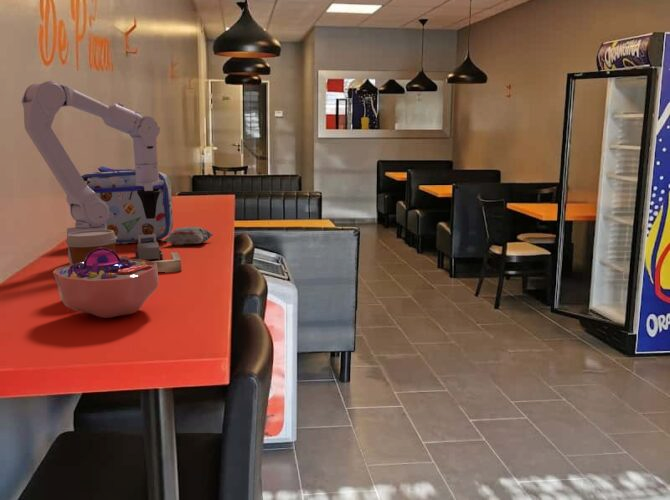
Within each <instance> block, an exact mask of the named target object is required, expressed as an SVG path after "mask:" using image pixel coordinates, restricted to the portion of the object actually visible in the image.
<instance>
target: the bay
mask: <svg viewBox="0 0 670 500" xmlns="http://www.w3.org/2000/svg"><path fill="white" fill-rule="evenodd" d="M120 258H121V259H129V258H128V256H127V255H125V256H120ZM150 261H151V260H150ZM151 262H156V263H157V268H158V272H165V273H175V272H182V269H183V268H182V259H181V257H180V255H179V253H178V251H176V252H174V251H173V252H170V259H165V260H164V259H163V260H154V261H153V260H152V261H151Z"/></svg>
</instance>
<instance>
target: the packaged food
mask: <svg viewBox="0 0 670 500" xmlns="http://www.w3.org/2000/svg"><path fill="white" fill-rule="evenodd" d="M213 235H214V234H213V233H211V231H209V230H208V229H205V228H204V227H196V226H185V227H178V228H176V229H174V230H172V231H171V233H170V234H169V235H167V236H166V237H165V238H163V239H161V242H167V243H168V244H171V245H173V246H182V245H187V246H188V245H189V246H195V245H200V244H203V243H205V242H206V241H208V240H209V239H210V238H211V237H213Z"/></svg>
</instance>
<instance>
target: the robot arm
mask: <svg viewBox="0 0 670 500" xmlns="http://www.w3.org/2000/svg"><path fill="white" fill-rule="evenodd" d="M21 104H22V106H23V121H24V125H23V126H24V130H25V131H26V133H27V135H28V136H29V138H30V140H31V141H32V143H33V144H34V146H35V147H36V149H37V150H38V153H39V154H40V156H41V157H42V158H43V160H44V161H45V163H46V165H47V167H48V168H49V169H50V171H51V173H52V174H53V175H54V177H55V179H56V180H57V182H58V183H59V185H60V187H61V189H62V190H63V191H64V193H65V195H66V198H65V200H66V202H67V204H68V206H69V213H70V216H71V218H72V219H73V220H74V221H75V225H74V226H75V227H68V228H67V229H66V236H67V235H68V234H70V233H73V232H79V231H88V230H107V225H106V221H107V219H108V218H109V214H110V211H109V207H108V205H107V204H106V203H105V202H104V201H102V200H101V199H99V198H98V196H97V195H96V193H95V192H94V191H93V190H91V189H90V188H89V187H88V186H87V185H86V183H85V182H84V180H83V178H82V177H81V176H82V175H81V174H80V172H79V170H78V169H77V167H76V165H75V164H74V162H73V161H72V159H71V157H70V155H69V154H68V153H67V151H66V150H65V148H64V146H63V144H62V143H61V141H60V140H59V138H58V137H57V135H56V133H55V131H54V129H52V126H53V122H54V120H55V117H56V115H57V114H58V112H59V111H60V109H61V108H62V107H72V108H75V109H77V110H80V111H83V112H84V113H85V112H86V113H88V114H90V115H91V114H92V115H94V116H97V117H99V118H101V119H102V121H103V123H104V125H105V126H107V127H110V128H113V129H116V130H117V131H120V132H123V133H125V134H128V135H129V137H131V138H132V143H133V144H132V145H133V158H134V168H135V169H134V170H135V172H136V182H135V183H136V185H138V186H143V187H144V189H138V190H137V194H138V195H139V197H140V199H141V201H142V204H143V208H144V212H145V216H146V219H154V218H155V215H156V205H157V200H158V196H159V194H160V191H159V188H153V187H154V185H158V184H163V183H164V181H159V172H160V171H159V164H158V163H159V160H158V146H157V144H158V143H157V138H158V136H159V134H160V132H161V127H160V126H159V125H158V123H157V121H156V120H155V118H153V117H152V116H148V115H147V116H142V113H141V112H140V111H133V110H131V109H129V108H126V107H125V104H124V103H121V102H117V103H115V102H113V103H110V104H108V105H107V104H106V103H103V102H102V101H98V100H97V99H95V98H93V97H91V96H88V95H86V94H84V93H82V92H80V91H78V90H76V89H74V88H72V87H70V86H67V85H64V84H60V83H57V82H56V81H52V80H47V81H44V82H42V83H33V84H31V85H29V86H28V87H26V89H25V91H24V94H23V97H22V99H21ZM67 249H68V251H67V256H68V260H69V265H72V264H73V263H72V259H71V255H70V250H69V246H67Z"/></svg>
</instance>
